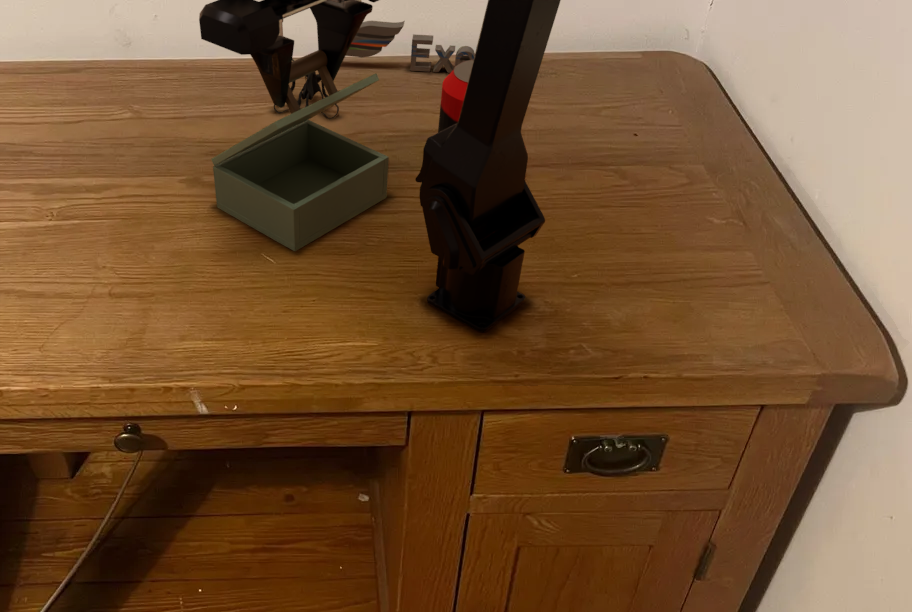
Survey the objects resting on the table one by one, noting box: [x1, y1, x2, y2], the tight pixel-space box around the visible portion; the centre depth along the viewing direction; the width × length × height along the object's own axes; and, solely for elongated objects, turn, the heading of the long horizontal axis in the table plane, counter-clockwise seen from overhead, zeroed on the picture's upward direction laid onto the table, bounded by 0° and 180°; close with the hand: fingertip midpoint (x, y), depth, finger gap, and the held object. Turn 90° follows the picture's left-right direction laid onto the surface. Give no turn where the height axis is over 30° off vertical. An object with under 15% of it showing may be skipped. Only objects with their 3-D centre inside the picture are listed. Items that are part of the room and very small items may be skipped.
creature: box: [273, 58, 340, 119], centre depth 107 cm, size 8×5×8 cm
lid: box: [210, 50, 380, 166], centre depth 88 cm, size 12×13×5 cm
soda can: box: [437, 60, 473, 133], centre depth 92 cm, size 8×8×12 cm
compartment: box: [212, 119, 390, 252], centre depth 92 cm, size 11×13×5 cm
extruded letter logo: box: [345, 20, 475, 74], centre depth 114 cm, size 25×2×6 cm, turn 81°
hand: (303, 94), depth 86 cm, fingers closed on lid, 6 cm apart
